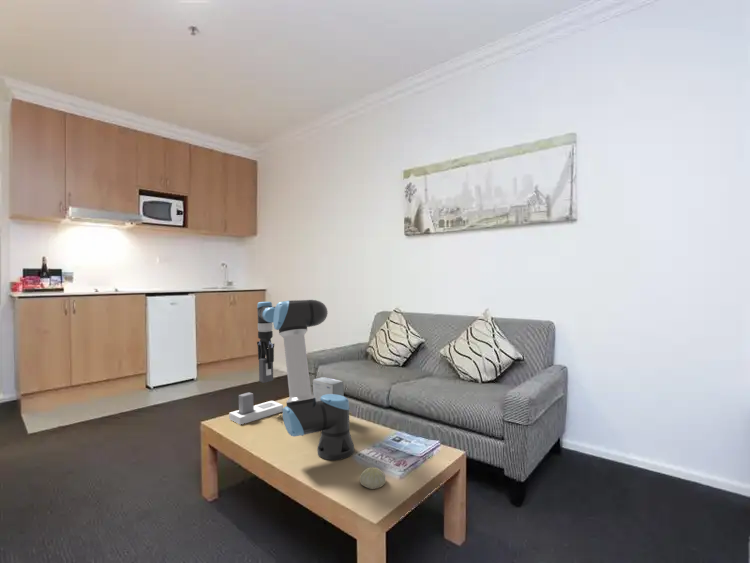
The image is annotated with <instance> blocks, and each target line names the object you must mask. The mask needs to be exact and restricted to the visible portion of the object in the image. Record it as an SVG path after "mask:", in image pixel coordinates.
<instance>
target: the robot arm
mask: <svg viewBox="0 0 750 563" xmlns="http://www.w3.org/2000/svg"><path fill="white" fill-rule="evenodd" d="M256 307H257V308H256V309H257V330H258V332H257V338H258V339H259V341H256V344H257V359H258V361H259V359H262V358H266V361H267V362H266V376H267V375H271V363H272V362H273V363H274V361H275V357H274V356H275V343H272V340H271V339H272V338H273V336H274V334H273V328H274V330H276V331H278V335H279V336H281V337H282V338H283V346H284V354H285V355H284V356H285V357H284V358H285V364H286V374H287V375H286V376H287V385H288V395H289V397H288V399H287V400H286V403H285V404H286V405H285V406H283V411H282V420H283V424H284V427H285V430H286V431H287V433H288V434H289V435H290V436H291V437H300V436H302V437H303V436H304V435H309V434H314V433H318V432H321V434H320V438H319V441H318V445H317V455H318V457H320V458H321V459H324V460H329V461H338V460H344V459H347V458H349V457H351V456H352V455H353V454H354V452H355V444H354V442H353V439H352V436H351V432H350V401H349V399H348V398H347V396H341V395H336V394H326V395H322V396H321V398H320V401H316V398H315V396H314V395H313V393H312V389H311V380H310V373H309V365H308V364H309V363H308V356H307V346H306V339H305V334H306V333H307V332H308V328H310V327H312V328H313V327H316V326H319V325H321V324H322V323H324V322H325V321H326V319H327V318H328V313H329V312H328V308H327V305H325V303H323V302H322V301H320V300H316V299H299V300H297V299H295V300H285V301H279V302H278V303H276V306H273V303H272V301H259V302H257V306H256Z"/></svg>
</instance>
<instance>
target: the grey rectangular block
mask: <svg viewBox="0 0 750 563" xmlns="http://www.w3.org/2000/svg"><path fill="white" fill-rule="evenodd" d="M266 362H267V361H266V357H265V358H262V359H259V360H258V379H259V380H258V382H260V383H263V384H264V383H267V382H268V383H269V382H272V381H274V362H272V363H271V375H267V376H266Z"/></svg>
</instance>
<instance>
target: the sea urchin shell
mask: <svg viewBox="0 0 750 563" xmlns="http://www.w3.org/2000/svg"><path fill="white" fill-rule="evenodd" d="M359 482H360V484H361V485H362V486H363V487H365V488H367V489H369V490H375V489H378V488H381V487H383V486H384V485H385V484H386V475H385V473H384V472H383V471H382V470H381V469H380V468H379V467H367V468H365V470H363V471H362V473H361V474H360V476H359Z"/></svg>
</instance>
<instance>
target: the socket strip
mask: <svg viewBox="0 0 750 563" xmlns="http://www.w3.org/2000/svg"><path fill="white" fill-rule="evenodd" d="M254 404H255V403H254V393H252V392H245V393H241V394H238V410H234V411H231V412H228V413H229V414H228V415H229V418H228V420H229V419H230V420H229V421H231V420H232V421H231V422H233V421H234V423H235V422H236V424H237V423H238V424H237V425H239V424H240V426H241V424H242V425H245V424H248V423H250V422H254V421H257V420H260V419H263V418H267V417H269V416H272V415H275V414H279V413H283V408H284V404H282V403H279V402H278V401H274V400H269V401H266V402H265V401H264V402H262V403H261V402H260V403H258V404H255V405H254ZM244 423H245V424H244Z"/></svg>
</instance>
